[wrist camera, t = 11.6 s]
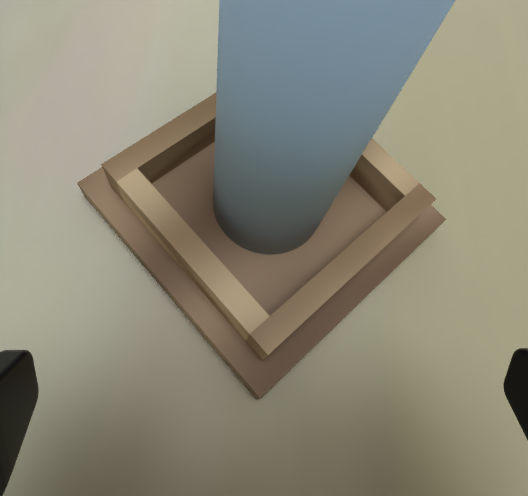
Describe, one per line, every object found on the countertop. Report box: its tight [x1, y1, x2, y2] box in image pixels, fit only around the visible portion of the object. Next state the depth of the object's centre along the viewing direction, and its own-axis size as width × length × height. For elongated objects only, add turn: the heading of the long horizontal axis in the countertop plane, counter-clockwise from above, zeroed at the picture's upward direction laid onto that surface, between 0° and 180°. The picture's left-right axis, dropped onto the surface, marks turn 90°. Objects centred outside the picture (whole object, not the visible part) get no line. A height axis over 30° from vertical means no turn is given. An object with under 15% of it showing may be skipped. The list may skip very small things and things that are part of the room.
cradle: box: [77, 92, 446, 399], centre depth 20 cm, size 12×12×3 cm
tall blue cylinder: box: [213, 0, 455, 255], centre depth 14 cm, size 5×5×13 cm
